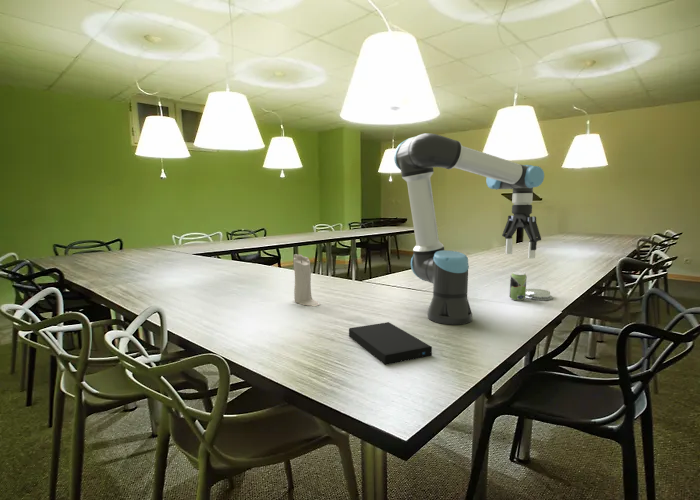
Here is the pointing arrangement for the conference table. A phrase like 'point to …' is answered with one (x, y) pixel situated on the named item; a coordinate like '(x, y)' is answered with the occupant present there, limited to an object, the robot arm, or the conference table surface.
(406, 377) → the conference table surface
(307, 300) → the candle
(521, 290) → the beverage can
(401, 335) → the external hard drive
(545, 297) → the bowl
